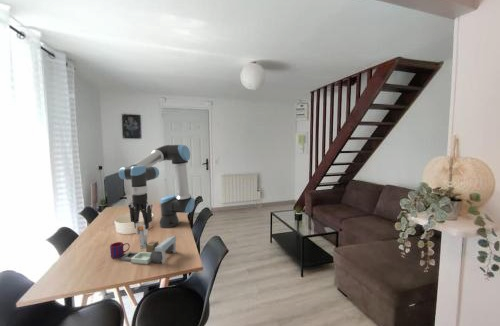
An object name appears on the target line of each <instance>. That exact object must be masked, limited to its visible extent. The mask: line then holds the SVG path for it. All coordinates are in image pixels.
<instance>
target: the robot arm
mask: <svg viewBox="0 0 500 326" xmlns="http://www.w3.org/2000/svg"><path fill="white" fill-rule="evenodd" d="M190 159H191V151H190V148H189V147H188V146H187V145H186V144H166V145H162V146H159V147H158V148H155V149H154V150H152V151H151V153H149V154H148V155H145V157H143V158H141V159H140V160H138V161H136V162H134V163H133V164H131V165H130V166H122V167H121V168H119V169H118V177H119V178H120V179H121V180H126V181H129V180H130V183H131V194H132V195H131V197H132V203H130V204H128V208H129V216H130V217H129V219H130V223H134V229H135V235H136V236H138V235H140V233H139V230H138V227H141V222H140V220H139V219H140V214H142V218H143V224H142V226H143V229H144V235H146V236H147V235H148V234H149V229H150V225H149V224H150V223H151V222H152V221H153V215H152V214H153V213H152V211H153V210H152V208H153V204H149V203H148V185H147V182H148V181H152V180H155V179H157V178H159V175H160V170H159V169H158V167H156V166H155V165H156V164H158V163H162V162H163V161H164V162H165V161H171V164H172V165H173V166H174V174H175V182H176V183H175V184H176V191H177V195H175V194H174V195H173V194H172V195H166V196H163V197H162V198H160V215H161V216H160V220H159V227H160V228H164V229H166V228H167V229H169V228H175V227H176V226H179V224H180V219H179V217H178V215H177V213H179V214H181V213H182V214H190V213H192V212H193V211H194V208H195V202H196V200H195V198H193V197H192V194H191V193H190V192H189V191H190V190H189V182H188V180H189V179H188V171H187V170H188V169H187V164H188V162H189V160H190Z"/></svg>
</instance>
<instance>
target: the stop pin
mask: <svg viewBox="0 0 500 326" xmlns="http://www.w3.org/2000/svg"><path fill="white" fill-rule="evenodd" d="M138 230H139V233H140V234H139V246H140V250H145V249H146V248H147V244H148V243H147V242H148V241H147V239H148V238H147V235H144V229H143V225H140V227H138Z"/></svg>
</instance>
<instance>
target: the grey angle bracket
mask: <svg viewBox="0 0 500 326" xmlns="http://www.w3.org/2000/svg"><path fill="white" fill-rule="evenodd" d="M176 242H177V235H176V234H175V235H173V236H172V237H168V236H167V238H165V239H164V240H163V241H161V243H158V244H159V245H158V246H157V247H155V250H154V251H153V252H152V253H151V255H150V258H151V260H152V261H151V262H152V263H153V264H159V263H161V264H165V263H166V253H167V254H170V253H171V252H173V254H176V253H177V246H176V245H177V244H176Z"/></svg>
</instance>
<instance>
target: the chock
mask: <svg viewBox="0 0 500 326" xmlns="http://www.w3.org/2000/svg"><path fill="white" fill-rule="evenodd" d="M159 244H160V243H159V240H151V241H149V242H148V243H147V248H146V250H145V252H150V253H152V252H153V251H154V250H155V247H157V246H158V245H159Z"/></svg>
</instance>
